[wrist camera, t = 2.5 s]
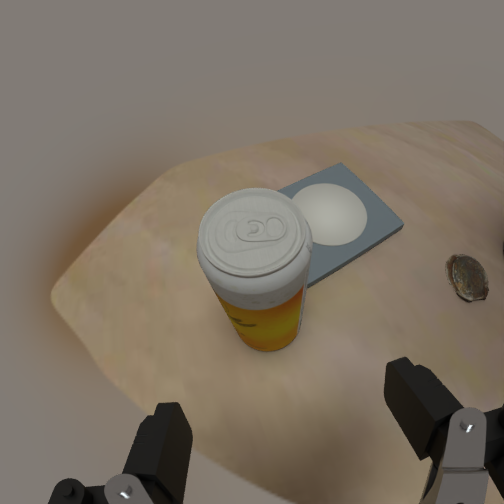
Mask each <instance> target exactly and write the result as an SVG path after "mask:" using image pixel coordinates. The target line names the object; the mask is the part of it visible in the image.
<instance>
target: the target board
mask: <svg viewBox="0 0 504 504" xmlns="http://www.w3.org/2000/svg"><path fill="white" fill-rule="evenodd" d="M277 192H280V193H282V194H284V195H286V196H287V197H289V198H290V199H291V200H293V201H294V202H295V203H296V204H297V205H298V207H299V208H300V210H301V211H302V213H303V216H304V218H305V219H306V220H307V222H308V224H309V226H310V229H311V232H312V238H313V246H312V255H311V262H310V269H309V276H308V282H307V288H309V287H310V286H312V285H314V284H316V283H317V282H319V281H321V280H322V279H324V278H326V277H327V276H329V275H330V274H332V273H334V272H335V271H337V270H339V269H340V268H342V267H343V266H345V265H347V264H348V263H350V262H351V261H353V260H355V259H356V258H358V257H359V256H361V255H362V254H364V253H366V252H367V251H369V250H370V249H372V248H373V247H375V246H376V245H378V244H379V243H381V242H383V241H384V240H386V239H387V238H389V237H390V236H392V235H393V234H395V233H396V232H398V231H399V230H400V229H402V227H403V225H404V223H403V221H402V220H401V219H400V218H399V217H398V216H397V215H396V214H395V213H394V212H393V211H392V210H391V209H390V208H389V207H388V206H387V205H386V204H385V203H384V202H383V201H382V200H381V199H380V198H379V197H378V196H377V195H376V194H375V193H374V192H373V191H372V190H371V189H370V188H369V187H368V186H366V185H365V184H364V183H363V182H362V181H361V180H360V179H359V178H358V177H357V176H356V175H355V174H354V173H352V172H351V171H350V170H349V169H348V168H347V167H346V166H345V165H343V164H342V163H339V164H336V165H334V166H332V167H329V168H327V169H325V170H322V171H320V172H318V173H316V174H313V175H311V176H309V177H307V178H304V179H302V180H300V181H298V182H295V183H293V184H291V185H289V186H287V187H284V188H282V189H280V190H278V191H277Z"/></svg>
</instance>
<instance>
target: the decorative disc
mask: <svg viewBox="0 0 504 504" xmlns="http://www.w3.org/2000/svg"><path fill="white" fill-rule="evenodd" d="M446 274H447V278H448V280H449V284H450V285H451V286H452V287H453V288H454V289H455V290H456V291H457V294H458V295H459V296H460V297H462V298H463V299H464V300H466V301H468V302H472V300H476V299H477V300H478V299H481V300H482V299H483V300H485V299H486V297H487V295H488V291H489V289H488V279H487V274H486V272H485V271H484V269H483V267H482V266H481V265H480V263H479V262H478V261H477V260H475V259H474V258H472V257H470V256H466V255H463V254H462V255H453V256H451V258H449V260H448V261H447V262H446ZM456 291H455V292H456Z"/></svg>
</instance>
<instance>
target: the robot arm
mask: <svg viewBox="0 0 504 504" xmlns="http://www.w3.org/2000/svg"><path fill="white" fill-rule="evenodd" d="M503 248H504V246H503ZM384 398H385V401H386V404H387V406H388V407H389V409H390V411H391V412H392V414H393V416H394V417H395V419H396V421H397V422H398V424H399V426H400V427H401V429H402V431H403V432H404V434H405V436H406V437H407V439H408V441H409V442H410V444H411V446H412V448H413V449H414V451H415V453H416V454H417V456H418V458H419V460H420V461H421V460H423V459H425V458H427V457H429V456H430V458H431V459H432V463H431V466H430V470H429V474H428V477H427V480H426V484H425V487H424V490H423V493H422V496H421V499H420V502H419V504H484V501H485V496H486V490H487V484H488V476H489V475H490V477H491V478H492V480H493V482H494V484H495V485H496V487H497V489H498V491H499V492H500V494H501V496H502V498H503V499H504V404H503V406H502V407H501V408H498V409H495V410H492V411H488V412H485V413H483V412H481V411H480V410H478V409H476V408H470V407H469V408H464V407H463V406H462V405H461V404H460V402H459V401H458V400H457V399H456V398H455V397H454V396H453V395H452V393H451V392H450V391H449V390H448V389H447V388H446V387H445V386H444V385H443V384H442V382H441V381H440V380H439V379H437V377H436V376H435V375H434V374H433V372H432V371H431V370H430V369H428V368H426V367H424V366H422V365H420V364H419V365H416V366H414V365H413V364H412V363H411V361H410V360H409V359H408V358H407V357H402V358H399V359H397V360H394V361H391V362H388V363H387V365H386V374H385V384H384ZM192 442H193V435H192V430H191V427H190V425H189V423H188V421H187V419H186V417H185V415H184V413H183V410H182V408H181V406H180V404H179V403H178V402H170V403H158V405H157V407H156V410H155V413H154V415H148V416H147V417H146V418H145V419H144V421H143V422H142V423H141V424H140V426H139V429H138V431H137V436H136V437H135V440H134V444H133V445H132V447H131V450H130V453H129V456H128V459H127V461H126V464H125V467H124V469H123V472H122V474H119V475H116V476H114V477H112V478H111V479H110V480H109V481H108V482H107V483H106V485H103V486H92V487H85V486H84V485H83V484H82V483H81V482H79V481H78V480H76V479H72V478H70V479H69V478H68V479H64V480H62V481H60V482H59V483H58V484H57V485H56V486H55V488H54V490H53V492H52V495H51V497H50V500H49V502H48V504H183V499H184V492H185V485H186V478H187V473H188V466H189V460H190V454H191V448H192ZM484 467H485V468H486V469H484Z"/></svg>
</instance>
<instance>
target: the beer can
mask: <svg viewBox="0 0 504 504" xmlns="http://www.w3.org/2000/svg"><path fill="white" fill-rule="evenodd" d="M312 246H313V238H312V232H311V229H310V226H309V224H308V222H307V220H306V219H305V218H304V216H303V213H302V211H301V210H300V208H299V207H298V205H297V204H296V203H295V202H294V201H293V200H291V199H290V198H289V197H287V196H286V195H284V194H282V193H280V192H277V191H274V190H270V189H265V188H248V189H242V190H238V191H235V192H232V193H230V194H228V195H226V196H224V197H222V198H221V199H219V200H218V201H216V202H215V203H214V204H213V205H212V206H211V207H210V208H209V209H208V210H207V212H206V213H205V215H204V216H203V219H202V221H201V224H200V227H199V236H198V240H197V257H198V261H199V263H200V266H201V268H202V270H203V271H204V273H205V275H206V277H207V279H208V281H209V283H210V284H211V286H212V288H213V290H214V292H215V294H216V295H217V297H218V299H219V301H220V303H221V304H222V306H223V308H224V310H225V312H226V313H227V315H228V317H229V319H230V320H231V322H232V324H233V326H234V327H235V329H236V331H237V333H238V334H239V336H240V338H241V339H242V340H243V341H244V342H245V343H246V344H247V345H248V346H250V347H252V348H254V349H257V350H260V351H275V350H278V349H281V348H283V347H285V346H287V345H288V344H289V343H290V342H292V341H293V339H294V338H295V337H296V335H297V334H298V332H299V329H300V325H301V320H302V314H303V308H304V302H305V295H306V289H307V282H308V276H309V269H310V262H311V255H312Z"/></svg>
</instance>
